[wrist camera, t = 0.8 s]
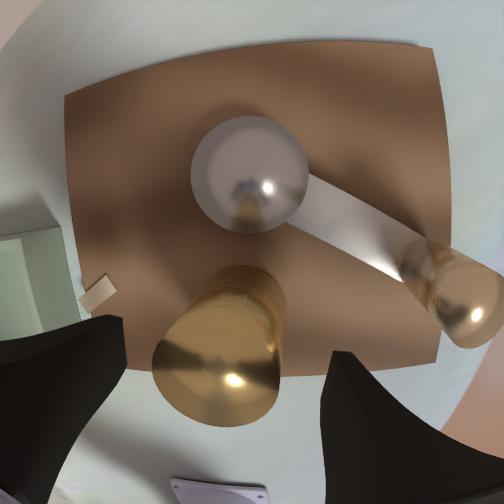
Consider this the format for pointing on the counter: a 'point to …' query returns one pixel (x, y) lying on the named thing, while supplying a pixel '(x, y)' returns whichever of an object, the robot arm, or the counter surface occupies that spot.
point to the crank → (339, 223)
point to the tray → (34, 284)
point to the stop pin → (225, 349)
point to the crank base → (286, 235)
